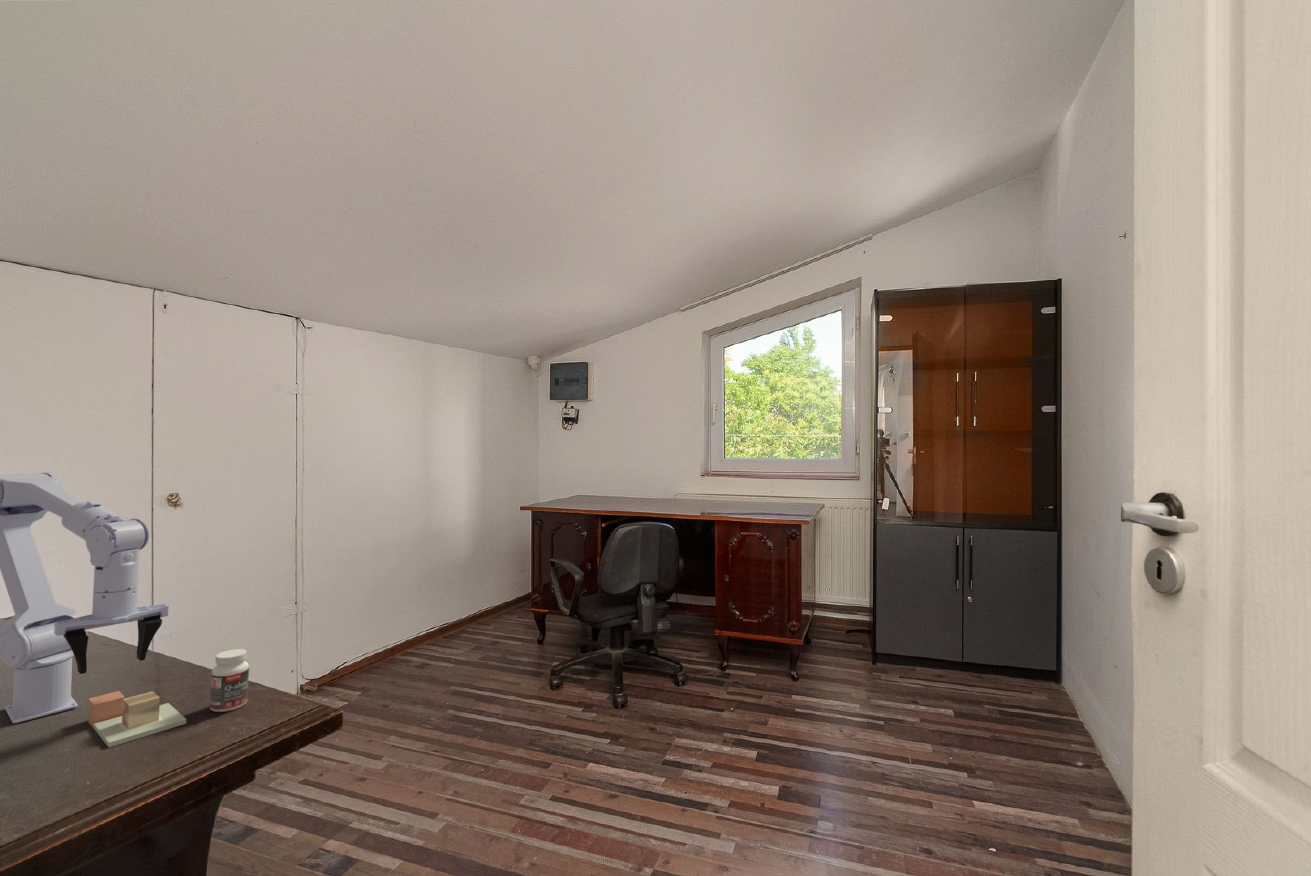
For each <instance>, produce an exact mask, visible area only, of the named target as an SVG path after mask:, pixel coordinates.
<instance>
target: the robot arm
mask: <svg viewBox="0 0 1311 876" xmlns="http://www.w3.org/2000/svg"><path fill="white" fill-rule="evenodd" d="M47 512H50V513H52V514H54V515H56V516H58V517H60V518H61V525H62V526H63V528H65V529H66V530H67V531H69V532H71V533H72V534H75V535H76V536H77V537H79V538H81V539H83V540H85V545H86V548H87V551H88V553H89V556H90V558H89V559H90V560H89V561H90V563H91V566H93V567H94V569H93V570H94V571H93V573H94V574H93V592H92V611H91V614H86V615H83V616H78V614H77V611H76V609H75V608H73V607H70V606H66V605H64V604H60V603H57V602H56V599H55V595H54V594H53V591H52V588H51V584H50V582H49V578H48V575H47V573H46V569H45V567H44V563H43V561H42V558H41V555H40V552H39V549H38V546H37V542H36V540H35V537H34V535H33V531H32V528H31V526H32V525H33V523H35V522H37V521H39V520H41V519H43V518H44V516H45V515H46V514H47ZM149 538H150V532H149V528H148V526H147V525H146V523H145V522H144V521H142V519H139V518H130V519H128V518H122V517H121V516H120V515H118V514H117V513H114V512H112V511H110V510H108V509H107V508H106V507H104V506H103V505H102V503H101V502H99V500H94V501H93V500H92V501H88V500H87V501H82V502H81V500H80V499H78V498H76V496H74V495H72V494H71V493H70V492H69V491H67V490H66V489H64V488H63V484H62V480H61V478H60V477H57V476H55V474H53V473H50V472H40V473H22V474H17V473H16V474H0V573H1V576H2V579H3V582H4V585H5V588H6V591H7V593H8V598H9V600H10V603H11V606H12V609H13V612H14V615H13V616H12V617H11V618H10V619H9V620H8V621H7V622H6V623H4V624H3V625H2V627H1V628H0V659H1V661H2V663H4V664H5V665H6V666H8V667H9V668H13V669H14V671H13V689H12V690H13V693H12V696H13V697H12V703H11V704H6V705H5V706H4V710H5V712H6V713H7V715H8V718H9V719H10V721H11V722H12V724H19V723H21V722H25V721H29V720H33V719H37V718H41V717H45V716H49V715H52V714H53V715H54V714H57V713H61V712H64V711H67V710H71V709H75V708H77V707H78V706H79V705H78V703H77V702H76V700H75V699H74V698H73V697H72V679H73V678H72V675H73V671H72V670H73V656H74V659H75V663H76V666H77V672H78V674H79V675H83V674H87V668H88V666H87V664H88V663H87V651H88V650H87V649H88V642H89V636H88V630H92V629H97V628H103V627H109V626H114V625H121V624H125V623H130V622H131V623H132V622H137V634H138V635H137V646H136V647H137V648H136V659H138V660H139V661H140V662H141V661H145V660H146V657H147V653H148V650H149V647H150V645H151V643H152V640H153V639H154V637H155V635H156V633H157V632H158V630H159V629H160V627H161V626H162V623H163V619H162V618H164V617H168V616H169V607H170V606H169V605H168V604H167V603H162V604H156V605H154V604H153V605H146V606H138V587H139V585H138V584H139V568H140V567H139V563H140V550H143V549H144V548H145V547H146V546H147V545H148V543H149Z"/></svg>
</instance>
